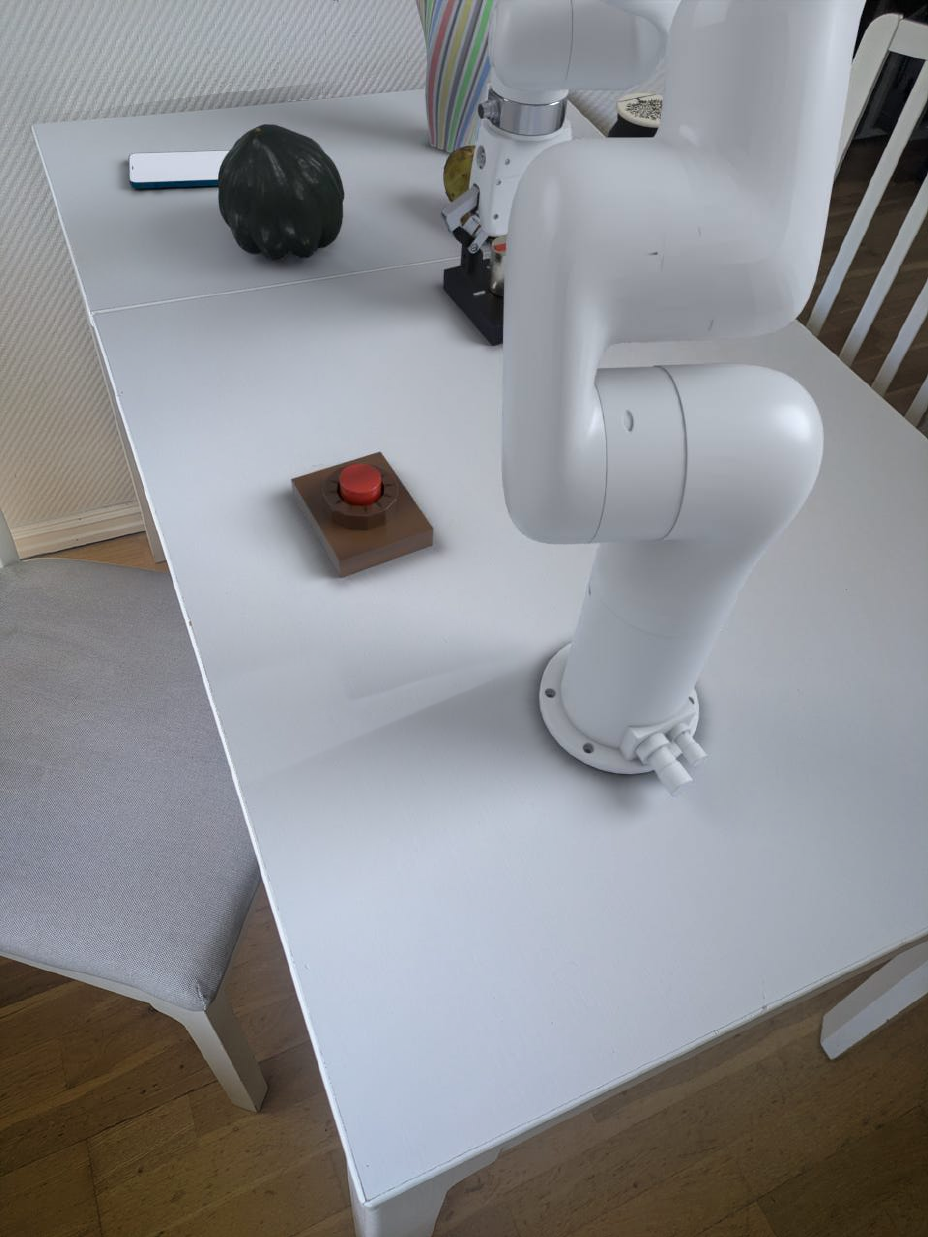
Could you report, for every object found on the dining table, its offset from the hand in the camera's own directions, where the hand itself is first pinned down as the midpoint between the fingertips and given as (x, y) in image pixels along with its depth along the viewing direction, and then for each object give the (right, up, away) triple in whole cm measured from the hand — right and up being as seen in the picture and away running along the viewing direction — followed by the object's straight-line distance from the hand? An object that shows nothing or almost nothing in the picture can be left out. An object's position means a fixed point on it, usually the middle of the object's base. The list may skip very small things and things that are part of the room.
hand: (509, 269), depth 101 cm
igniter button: (-14, -28, -21) cm, 38 cm away
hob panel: (0, -3, +4) cm, 5 cm away
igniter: (-14, -30, -18) cm, 38 cm away
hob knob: (0, -1, +2) cm, 2 cm away
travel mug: (+14, +5, +11) cm, 19 cm away
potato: (-3, +11, +15) cm, 19 cm away
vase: (-6, +28, +27) cm, 40 cm away
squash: (-27, +7, +9) cm, 29 cm away
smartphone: (-40, +19, +18) cm, 48 cm away
